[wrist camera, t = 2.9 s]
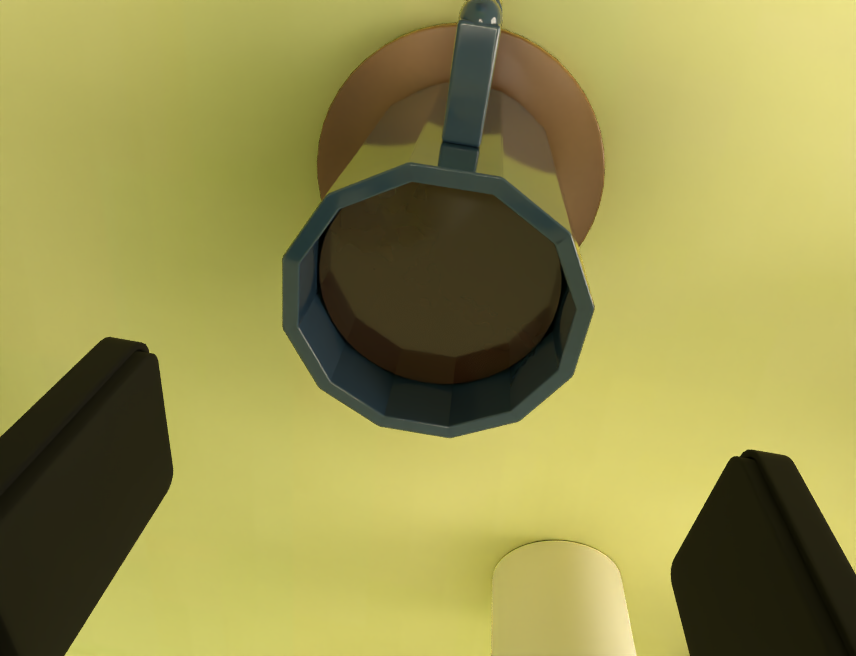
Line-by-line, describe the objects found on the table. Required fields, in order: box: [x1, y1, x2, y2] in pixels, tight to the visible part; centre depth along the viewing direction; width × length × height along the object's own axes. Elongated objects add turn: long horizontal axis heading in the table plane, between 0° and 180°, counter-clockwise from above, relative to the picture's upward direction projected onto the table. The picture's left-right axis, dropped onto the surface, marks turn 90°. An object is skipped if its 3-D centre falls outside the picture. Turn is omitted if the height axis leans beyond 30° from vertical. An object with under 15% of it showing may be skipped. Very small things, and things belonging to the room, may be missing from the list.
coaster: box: [317, 23, 605, 246], centre depth 22 cm, size 10×10×1 cm
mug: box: [282, 0, 595, 438], centre depth 17 cm, size 10×7×10 cm
